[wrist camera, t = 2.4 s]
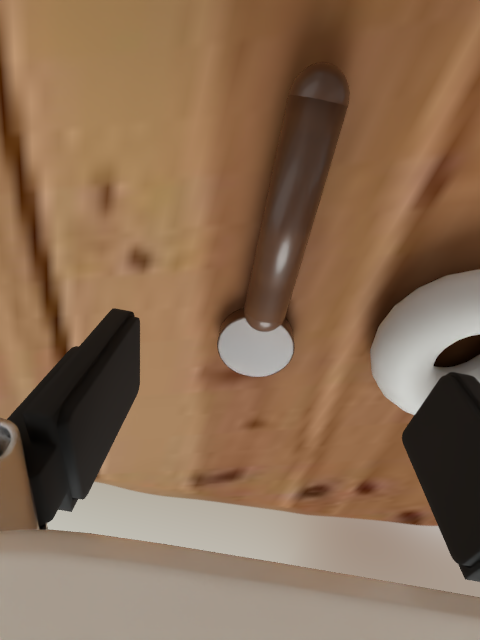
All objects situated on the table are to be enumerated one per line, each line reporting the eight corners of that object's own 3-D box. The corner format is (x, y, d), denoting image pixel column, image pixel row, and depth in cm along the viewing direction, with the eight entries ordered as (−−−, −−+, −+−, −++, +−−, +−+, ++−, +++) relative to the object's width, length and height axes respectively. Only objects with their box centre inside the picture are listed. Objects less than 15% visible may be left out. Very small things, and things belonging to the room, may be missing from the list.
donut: (582, 312, 18) (459, 222, 16) (643, 350, 15) (503, 247, 13) (439, 410, 23) (330, 353, 21) (465, 453, 20) (341, 392, 18)
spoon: (265, 55, 13) (264, 43, 11) (379, 79, 13) (400, 72, 11) (215, 358, 22) (209, 383, 20) (283, 371, 22) (284, 396, 20)
